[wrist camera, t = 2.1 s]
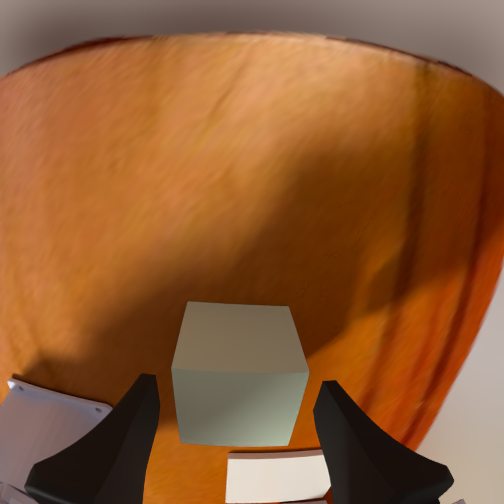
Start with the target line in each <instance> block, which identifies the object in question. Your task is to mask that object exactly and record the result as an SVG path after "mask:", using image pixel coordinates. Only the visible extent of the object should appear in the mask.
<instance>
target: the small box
mask: <svg viewBox="0 0 504 504" xmlns="http://www.w3.org/2000/svg"><path fill="white" fill-rule="evenodd" d="M282 504H327V501H326V500H322V501H312V502H299V503H282Z"/></svg>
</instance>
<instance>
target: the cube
mask: <svg viewBox="0 0 504 504" xmlns="http://www.w3.org/2000/svg"><path fill="white" fill-rule="evenodd" d="M171 370H172V380H173V390H174V398H175V407H176V415H177V422H178V429H179V436H180V443H188V444H200V445H216V446H288V443H289V440H290V437H291V434H292V431H293V428H294V425H295V421H296V418H297V415H298V412H299V408H300V405H301V401H302V398H303V395H304V391H305V388H306V384H307V380H308V377H309V373H310V372H309V369H308V366H307V362H306V359H305V356H304V353H303V350H302V346H301V343H300V340H299V337H298V334H297V331H296V327H295V324H294V321H293V318H292V315H291V312H290V309H289V306H265V305H242V304H223V303H207V302H192V301H188V302H187V306H186V309H185V313H184V317H183V321H182V325H181V329H180V333H179V337H178V341H177V346H176V350H175V354H174V358H173V362H172V367H171Z"/></svg>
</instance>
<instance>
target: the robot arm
mask: <svg viewBox="0 0 504 504" xmlns="http://www.w3.org/2000/svg"><path fill="white" fill-rule="evenodd" d="M8 384H9V386H10V388H11V390H10V392H9V393H8V395H7V396H6V398H5V399H4V401H3V402H2V404H1V405H0V504H142V503H143V492H144V483H145V474H146V469H147V464H148V460H149V456H150V452H151V449H152V445H153V441H154V437H155V434H156V430H157V426H158V420H159V413H160V400H159V394H158V388H157V381H156V375H150V374H141V375H140V376H139V377H138V378H137V380H136V381H135V383H134V384H133V385H132V387H131V388H130V389H129V390H128V392H127V393H126V394H125V395H124V397H123V398H122V399H121V400H120V401H119V403H118V404H117V405H116V406H115V407H114V408H113V409H112V407H111V406H110V405H108V404H105V403H100V402H95V401H90V400H86V399H82V398H77V397H73V396H69V395H65V394H62V393H58V392H54V391H51V390H47V389H44V388H40V387H37V386H34V385H31V384H28V383H25V382H22V381H19V380H16V379H13V378H10V379H9V380H8ZM313 413H314V420H315V426H316V431H317V435H318V438H319V442H320V445H321V448H322V452H323V455H324V458H325V462H326V465H327V468H328V473H329V477H330V483H331V490H332V497H333V504H440V502H439V499H438V498H439V497H440V496H441V495H443V494H444V493H445V492H446V491H447V490H448V489H449V488H450V487H451V486H452V485H453V483H454V479H453V477H452V475H451V473H450V471H449V469H448V467H447V466H446V465H443V464H440V463H438V462H435V461H432V460H430V459H428V458H426V457H423V456H421V455H419V454H417V453H416V452H414V451H412V450H410V449H409V448H407V447H405V446H404V445H402V444H401V443H399V442H398V441H396V440H395V439H393V438H392V437H391V436H390V435H388V434H387V433H386V432H384V431H383V430H382V429H381V428H380V427H378V426H377V425H376V424H375V423H374V422H373V421H372V420H371V419H370V418H369V417H368V416H367V415H366V414H365V413H364V412H363V411H362V410H361V409H360V408H359V407H358V405H357V404H356V403H355V402H354V401H353V400H352V399H351V398H350V396H349V395H348V394H347V393H346V392H345V390H344V389H343V388H342V387H341V386H340V385H339V383H338V382H337V381H336V380H332V381H323V382H322V385H321V388H320V391H319V394H318V397H317V400H316V403H315V406H314V409H313ZM453 504H466V503H465V501H464V499H461V500H459V501H457V502H455V503H453Z"/></svg>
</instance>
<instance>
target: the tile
mask: <svg viewBox="0 0 504 504" xmlns="http://www.w3.org/2000/svg"><path fill="white" fill-rule="evenodd" d="M330 486H331V483H330V477H329V473H328V468H327V465H326V462H325V458H324V455H323V452H322V449H320V450H310V451H297V452H280V453H228V465H227V482H226V503H267V502H283V501H295V500H305V499H313V498H320V497H323V496H324V495H325V494H326V492H327V491H328V489H329V488H330Z"/></svg>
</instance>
